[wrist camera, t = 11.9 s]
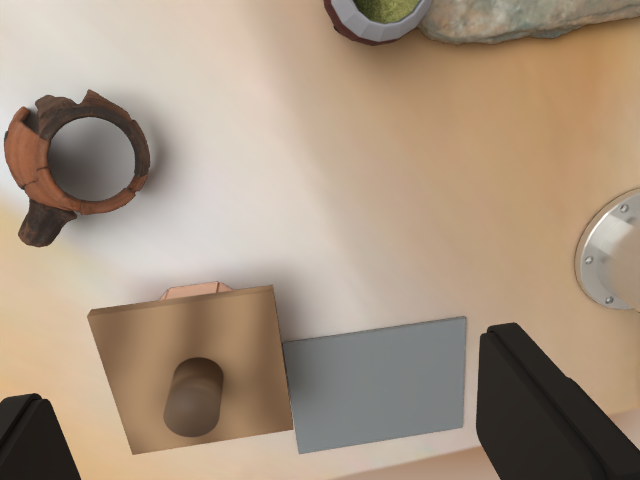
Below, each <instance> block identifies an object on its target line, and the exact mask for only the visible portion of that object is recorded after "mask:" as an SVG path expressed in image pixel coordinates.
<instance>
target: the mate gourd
mask: <svg viewBox="0 0 640 480" xmlns="http://www.w3.org/2000/svg"><path fill="white" fill-rule="evenodd" d="M431 1H432V0H324V6H325V9H326V11H327V13H328V15H329V16H330V18H331V20H332V22H333V24H334V29H335V30H336V31H338V32H339V33H340V34H342V35H343V36H345V37H347V38H349V39H350V40H352V41H356V42H360V43H364V44H367V45H371V46H375V45H380V44H386V43H391V42H395V41H397V40H398V39H400V38H401V37H403V36H404V35H406V34H407V33H409V32H410V31H412V30H413V29H414V28H415V27H416V26H417V25H418V24H419V22H420V21H421V19H422V18H423V16H424V15H425V14H426V12H427V11H428V9H429V8H430V5H431Z"/></svg>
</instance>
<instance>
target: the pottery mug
mask: <svg viewBox="0 0 640 480" xmlns="http://www.w3.org/2000/svg"><path fill="white" fill-rule="evenodd" d="M35 105H36V107H37V109H38V112H37V116H38V133H37V132H35V131H33V130H32V129H30V128H28V127H27V126H26V125H25V124H24V123H23V122H24V120H25V118H26V117H27V115H28V114H29V113H30V111H29V110H28V109H27V108H26V107H21V108H20V109H19V110H18V111H17V112H16V114H15V115H14V117H13V119H12V121H11V123H10V125H9V128H8V131H6V133H5V137H4V151H5V158H6V163H7V164H8V167H9V169H10V172H11V174H12V176H13V178H14V180H15V181H16V183H17V185H18V186H19V187H20V188H21V189H23V190H25V193H26V194H27V195H28V197H29V199H30V200H29V202H30V205H29V212H28V214H27V215H26V217H25V219H24V221H23V223H22V225H21V228H20V230H19V232H18V236H19V237H20V239H21V240H22V241H23V242H24V243H25V244H26V245H31V246H35V247H43V246H48V245H50V244H51V243H52V242H53V241H54V239H55V238H56V237H57V235H58V234H59V233H60V231H61V229H62V227H63V226H64V225H65V224H66V223H67V222H69V221H71V220H73V219H76V218H77V214H76V213H75V212H74V211H77V212H80V213H81V215H88V214H95V213H105V212H110V211H113V210H116V209H118V208H120V207H123V206H124V205H126V204H127V203H128V202H129V201H131V200H132V199H133V198H134V197H135V193H136V192H137V191H140V189H141V188H142V186H143V184H144V182H145V180H146V178H147V175H148V170H149V167H150V155H149V149H148V145H147V141H146V138H145V136H144V133H143V132H142V130H141V128H140V126H139V125H138V123H137V122H136V121H135V120H131V118H130V115H129V114H128V112H127V111H125V110H124V109H122V108H121V107H119V106H117V105H116V104H114V103H112V102H110V101H108V100H107V99H105V98H104V97H102V96H100V95H99V94H98V93H96V92H94V91H92V90H88V91H87V94H86V96H85V97H84V99H83V101H82V102H81V103H80V104H76V103H75V102H74V101H72V100H71V99H68V98H65V97H54V96H51V95H46V96H44V97H42V98H40V99H38V100H37V101H36V102H35ZM85 117H96V118H101V119H104V120H107V121H109V122H111V123H113V124H115V125H116V126H118V127H119V128H120V129H121V130H122V131H123V132H124V133H125V134H126V135H127V137H128V139H129V140H130V142H131V144H132V147H133V149H134V153H135V170H134V174H135V175H134V177H133V179H132V181H131V183H130V184H129V185H128V187H127V188H124V189H123V190H122V191H121V192H120V193H118V194H117V195H115V196H113V197H111V198H109V199H106V200H102V201H85V200H79V199H76V198H74V197H72V196H71V195H69V194H67V193H66V192H64V191H63V190H62V189H61V188H60V187H59V186H58V185H57V183H56V182H55V180H54V179H53V177H52V175H51V172H50V169H49V164H48V151H49V147H50V144H51V140H52V138H53V137H54V135H55V134H56V133H57V132H58V131H59V129H61V128H62V127H63V126H64V125H66V124H67V123H69V122H71V121H74V120H76V119H80V118H85ZM73 210H74V211H73Z"/></svg>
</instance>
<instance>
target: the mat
mask: <svg viewBox="0 0 640 480" xmlns="http://www.w3.org/2000/svg"><path fill="white" fill-rule="evenodd" d="M465 329H466V318H465V317H464V316H463V317H456V318H449V319H442V320H436V321H429V322H422V323H415V324H408V325H401V326H394V327H388V328H381V329H374V330H367V331H360V332H353V333H346V334H339V335H333V336H326V337H319V338H312V339H305V340H298V341H291V342H285V343H283V350H284V357H285V363H286V370H287V377H288V384H289V390H290V397H291V404H292V411H293V417H294V424H295V431H296V437H297V444H298V451H299V454H304V453H310V452H316V451H322V450H329V449H335V448H341V447H347V446H353V445H359V444H365V443H372V442H378V441H384V440H390V439H396V438H402V437H408V436H415V435H421V434H427V433H433V432H439V431H445V430H452V429H458V428H462V426H463V394H464V361H465Z"/></svg>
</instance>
